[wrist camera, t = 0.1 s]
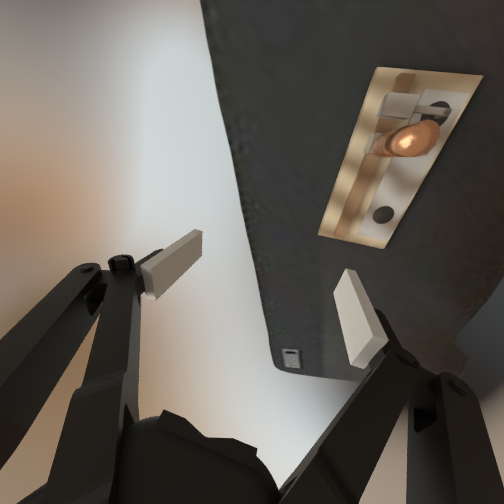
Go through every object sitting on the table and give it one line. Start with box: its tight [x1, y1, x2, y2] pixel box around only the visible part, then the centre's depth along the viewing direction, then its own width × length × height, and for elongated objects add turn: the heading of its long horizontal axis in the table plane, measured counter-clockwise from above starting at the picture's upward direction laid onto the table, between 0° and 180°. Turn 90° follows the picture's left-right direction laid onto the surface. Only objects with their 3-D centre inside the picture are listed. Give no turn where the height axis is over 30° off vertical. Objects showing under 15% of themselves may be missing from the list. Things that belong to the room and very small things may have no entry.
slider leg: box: [363, 120, 440, 157], centre depth 25 cm, size 3×9×13 cm, turn 82°
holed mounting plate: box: [318, 67, 483, 249], centre depth 32 cm, size 28×14×5 cm, turn 172°
